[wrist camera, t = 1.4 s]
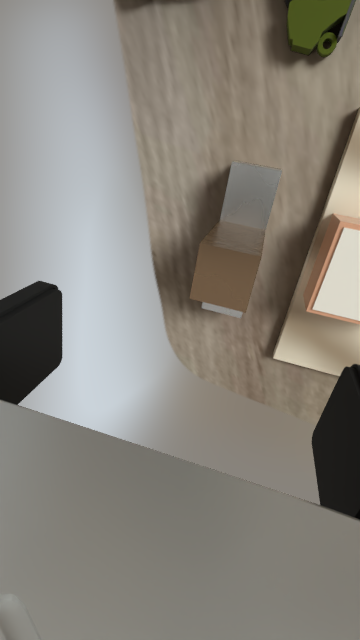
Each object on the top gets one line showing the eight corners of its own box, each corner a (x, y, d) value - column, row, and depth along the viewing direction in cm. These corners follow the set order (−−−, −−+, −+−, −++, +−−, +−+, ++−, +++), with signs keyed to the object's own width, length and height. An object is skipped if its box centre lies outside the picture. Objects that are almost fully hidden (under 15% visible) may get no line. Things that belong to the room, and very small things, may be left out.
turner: (237, 160, 23) (214, 163, 14) (281, 168, 23) (284, 177, 14) (209, 291, 28) (179, 353, 19) (244, 300, 27) (230, 367, 19)
